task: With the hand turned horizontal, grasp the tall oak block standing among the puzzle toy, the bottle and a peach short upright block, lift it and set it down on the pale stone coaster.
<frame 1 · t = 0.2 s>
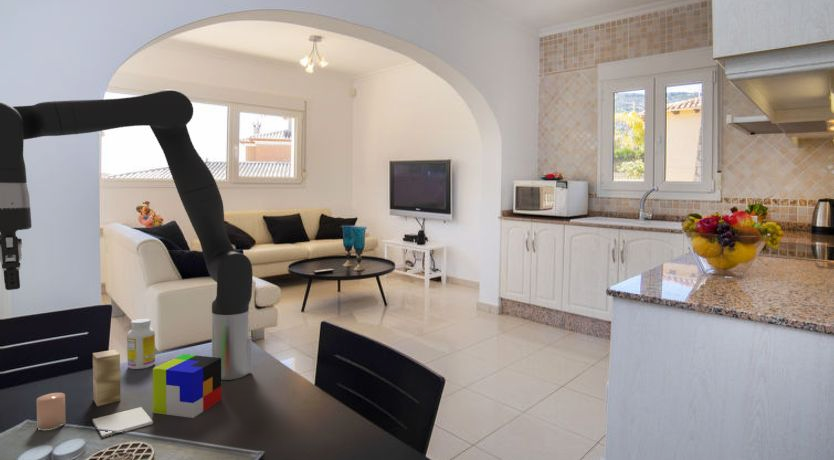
hand: (12, 286, 96), 29 cm above the table, tool pointing down, fingers open, 8 cm apart
coaster: (122, 422, 99), on the table
puzzle toy: (188, 406, 108), on the table
supplement bottle: (141, 366, 133), on the table
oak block: (106, 400, 110), on the table
peach short upright block: (51, 425, 97), on the table
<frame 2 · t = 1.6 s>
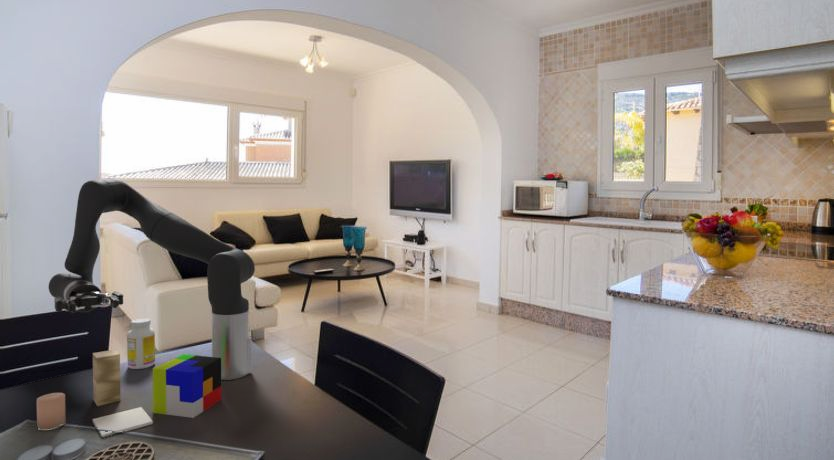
hand: (95, 306, 117), 20 cm above the table, tool horizontal, fingers open, 8 cm apart
nothing on the table moved.
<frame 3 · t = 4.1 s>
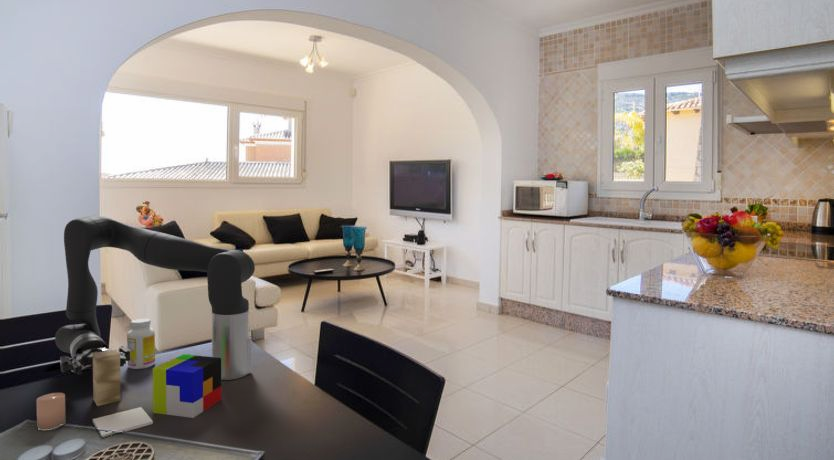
hand: (101, 366, 114), 6 cm above the table, tool horizontal, fingers open, 8 cm apart
nothing on the table moved.
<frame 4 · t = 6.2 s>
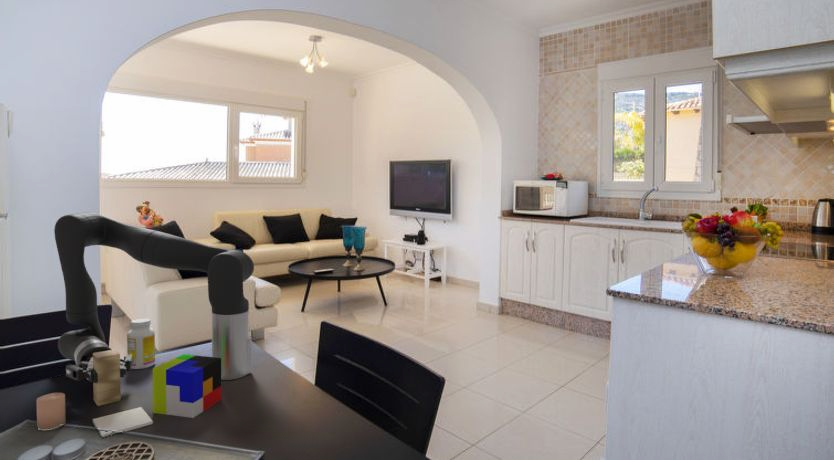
hand: (109, 375, 108), 7 cm above the table, tool horizontal, fingers closed on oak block, 4 cm apart
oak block: (107, 400, 110), on the table, touching gripper
everything else where it was.
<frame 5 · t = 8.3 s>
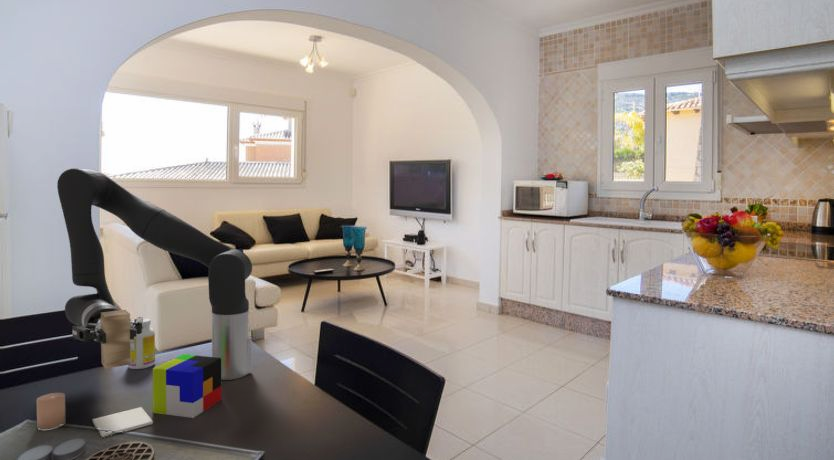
hand: (118, 336, 100), 18 cm above the table, tool horizontal, fingers closed on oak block, 4 cm apart
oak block: (115, 363, 102), point 11 cm above the table, touching gripper
everything else where it was.
when the fingers open (8 cm above the table, at t = 10.8 s): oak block drops 1 cm, resting on coaster.
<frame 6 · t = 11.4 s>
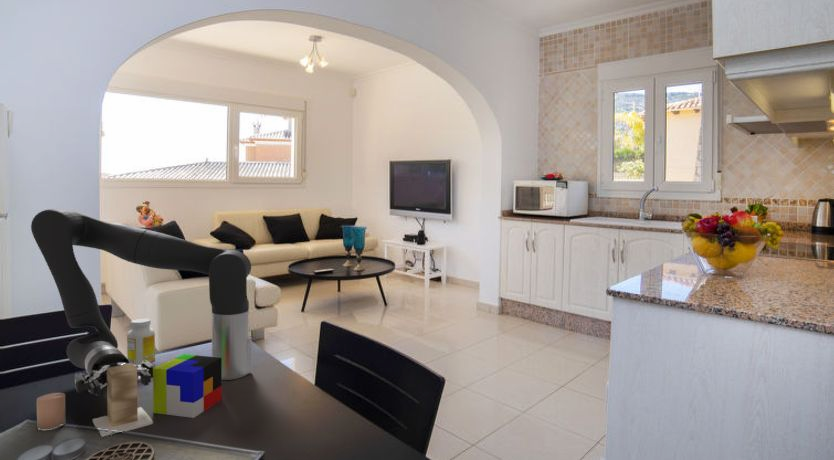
hand: (123, 385, 97), 9 cm above the table, tool horizontal, fingers open, 8 cm apart
puzzle toy: (188, 406, 108), on the table, touching gripper
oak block: (122, 420, 99), point 1 cm above the table, touching coaster
everything else where it was.
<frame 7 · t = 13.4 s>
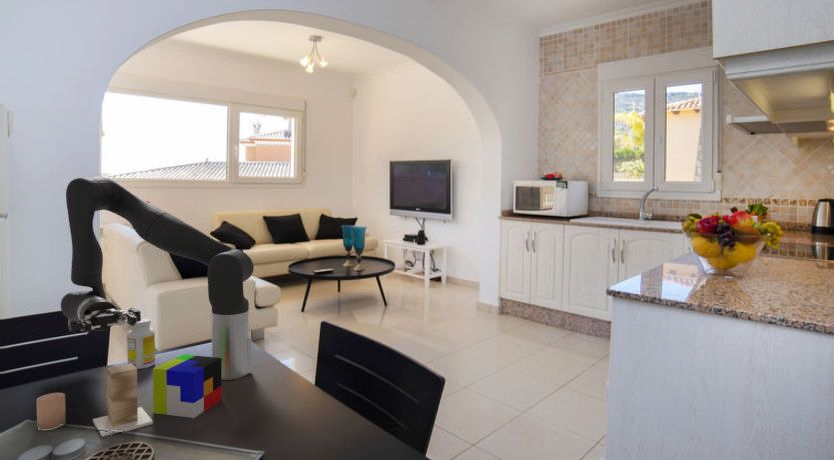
hand: (112, 324, 109), 18 cm above the table, tool horizontal, fingers open, 8 cm apart
puzzle toy: (188, 407, 108), on the table
everything else where it was.
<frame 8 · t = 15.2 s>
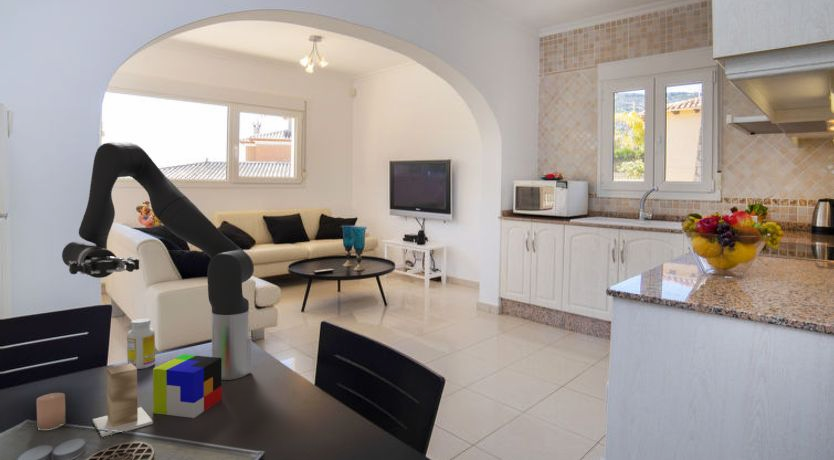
hand: (111, 268, 113), 30 cm above the table, tool horizontal, fingers open, 8 cm apart
nothing on the table moved.
at the end: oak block inside the target area on the coaster (0.0 cm from its centre), point 0.6 cm above the coaster's base; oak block tilted 0°; the gripper is holding nothing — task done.
